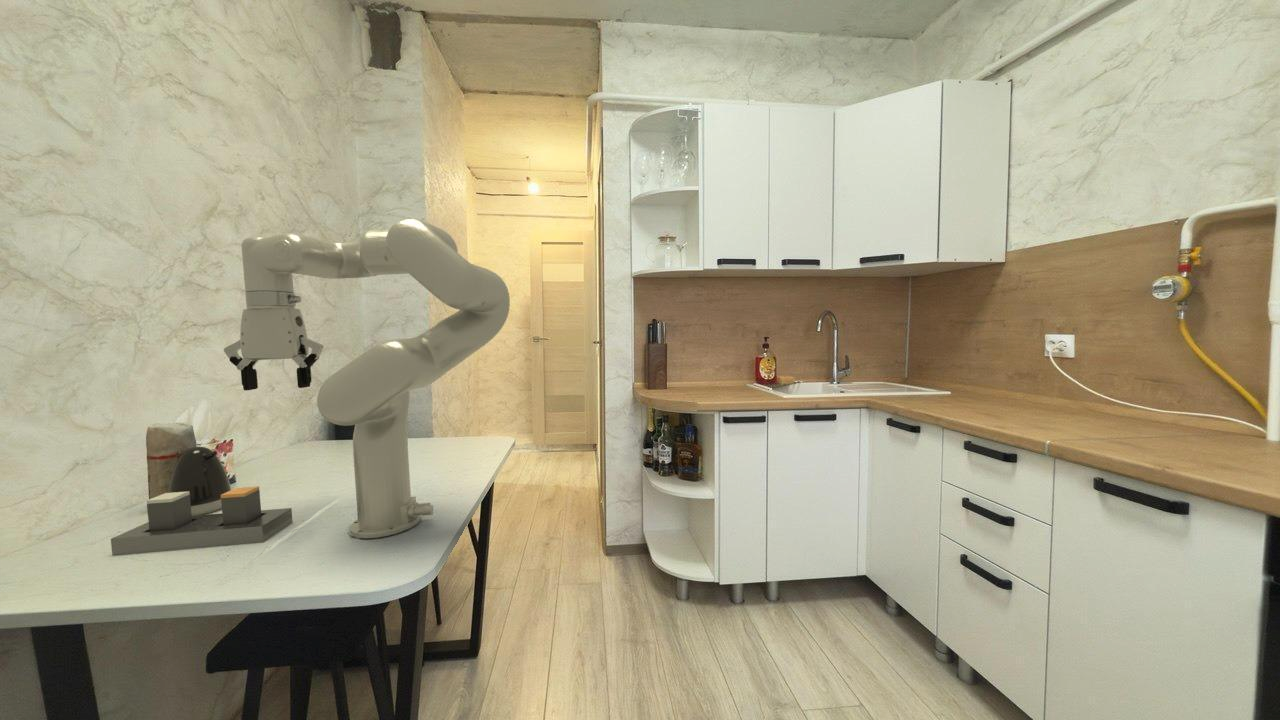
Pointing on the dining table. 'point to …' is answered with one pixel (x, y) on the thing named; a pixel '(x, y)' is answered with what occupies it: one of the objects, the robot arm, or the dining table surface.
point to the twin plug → (169, 511)
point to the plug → (241, 506)
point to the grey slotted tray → (202, 533)
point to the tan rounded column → (165, 453)
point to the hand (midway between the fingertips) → (277, 388)
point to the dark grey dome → (200, 479)
